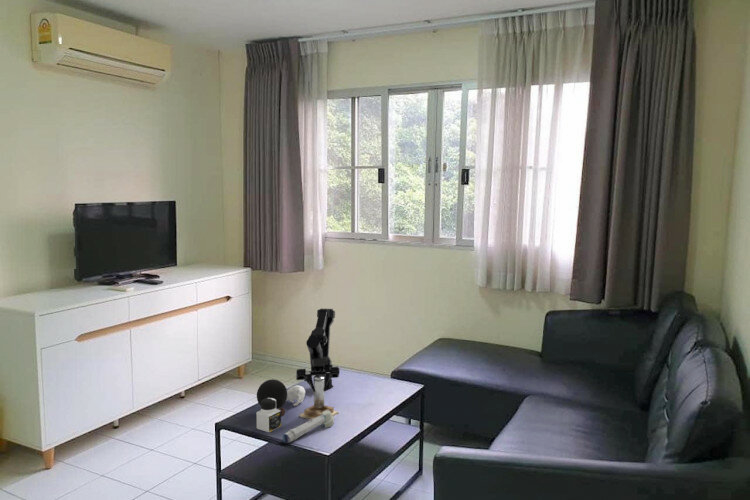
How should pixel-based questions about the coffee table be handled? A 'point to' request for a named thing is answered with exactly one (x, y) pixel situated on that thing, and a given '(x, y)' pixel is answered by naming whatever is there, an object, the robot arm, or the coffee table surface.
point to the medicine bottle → (268, 416)
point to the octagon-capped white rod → (309, 426)
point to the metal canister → (319, 391)
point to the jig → (316, 412)
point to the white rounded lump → (296, 394)
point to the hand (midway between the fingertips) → (319, 391)
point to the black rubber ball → (273, 393)
